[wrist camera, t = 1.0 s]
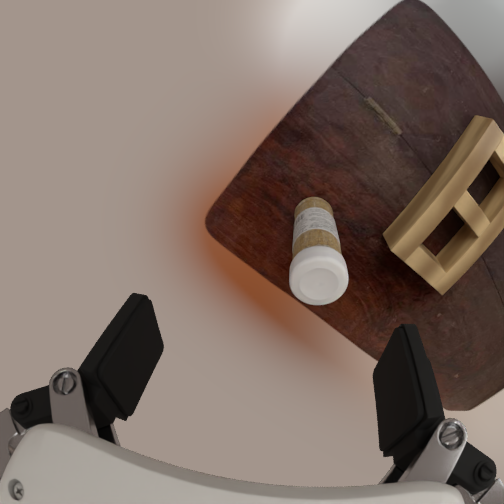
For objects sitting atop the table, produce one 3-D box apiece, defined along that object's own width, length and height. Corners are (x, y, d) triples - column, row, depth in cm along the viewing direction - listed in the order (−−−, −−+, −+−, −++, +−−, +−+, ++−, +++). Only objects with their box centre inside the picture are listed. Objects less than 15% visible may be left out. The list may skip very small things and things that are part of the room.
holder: (382, 234, 31) (390, 250, 28) (474, 114, 21) (493, 119, 18) (432, 277, 33) (442, 295, 30) (516, 176, 23) (533, 186, 20)
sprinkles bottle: (314, 238, 33) (317, 316, 22) (285, 214, 32) (275, 285, 21) (341, 213, 31) (361, 283, 20) (313, 187, 30) (319, 246, 19)
